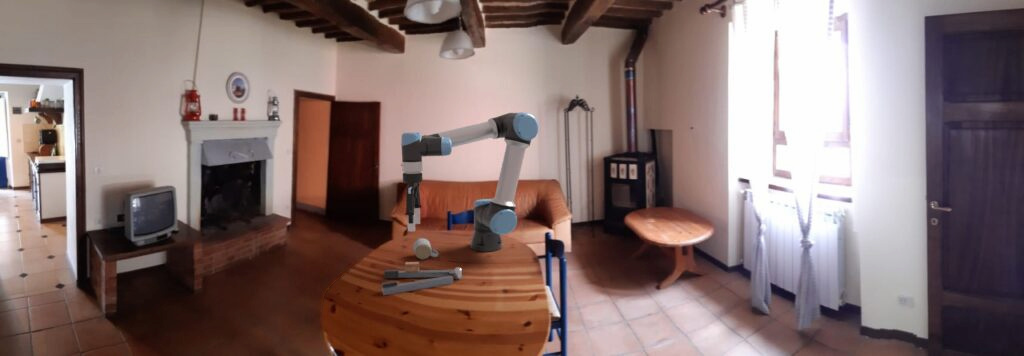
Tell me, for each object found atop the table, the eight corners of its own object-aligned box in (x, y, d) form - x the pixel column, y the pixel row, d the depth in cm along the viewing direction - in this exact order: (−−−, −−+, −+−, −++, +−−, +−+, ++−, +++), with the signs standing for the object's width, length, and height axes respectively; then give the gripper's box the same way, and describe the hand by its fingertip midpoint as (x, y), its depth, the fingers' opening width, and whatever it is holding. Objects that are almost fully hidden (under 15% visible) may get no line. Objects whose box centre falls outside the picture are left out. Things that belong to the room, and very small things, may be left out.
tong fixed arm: (450, 280, 153) (450, 272, 153) (453, 283, 150) (453, 275, 150) (382, 291, 143) (381, 283, 143) (383, 295, 140) (383, 286, 139)
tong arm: (462, 273, 159) (462, 261, 158) (461, 279, 153) (461, 266, 152) (387, 274, 157) (386, 262, 157) (383, 280, 152) (382, 267, 151)
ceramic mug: (415, 261, 173) (414, 244, 172) (413, 255, 181) (413, 238, 180) (439, 259, 177) (439, 242, 176) (437, 253, 184) (436, 236, 183)
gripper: (408, 168, 169) (410, 220, 172) (395, 176, 146) (398, 235, 150) (426, 168, 169) (428, 220, 173) (416, 176, 147) (418, 235, 150)
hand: (414, 227), depth 161 cm, fingers open, 10 cm apart
